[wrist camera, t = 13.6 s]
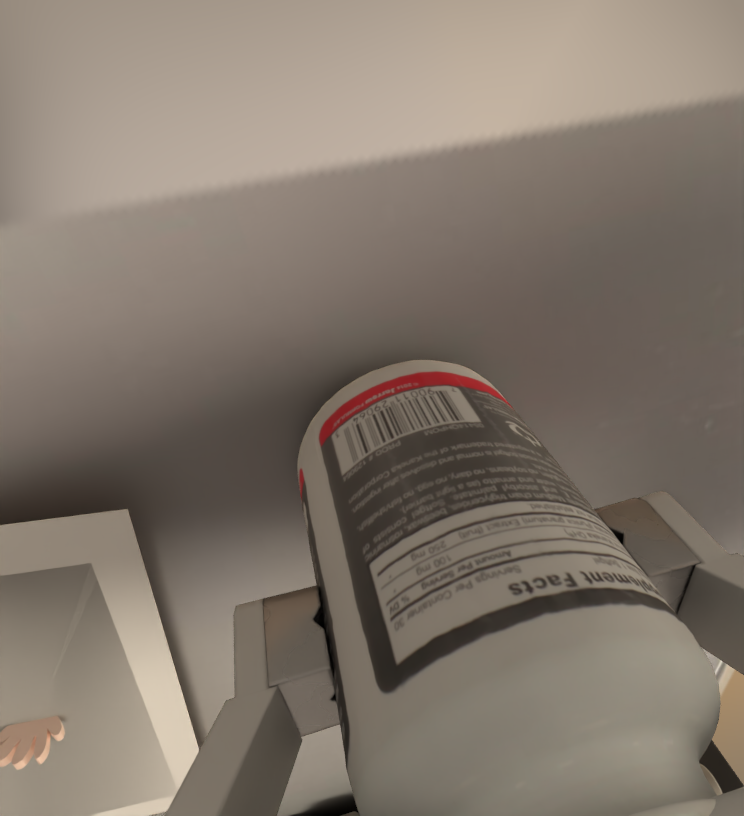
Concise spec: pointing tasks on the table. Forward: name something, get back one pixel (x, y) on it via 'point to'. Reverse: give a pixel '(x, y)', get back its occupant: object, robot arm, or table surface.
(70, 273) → the table surface
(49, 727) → the picture frame
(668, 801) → the pill bottle
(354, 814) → the camera
